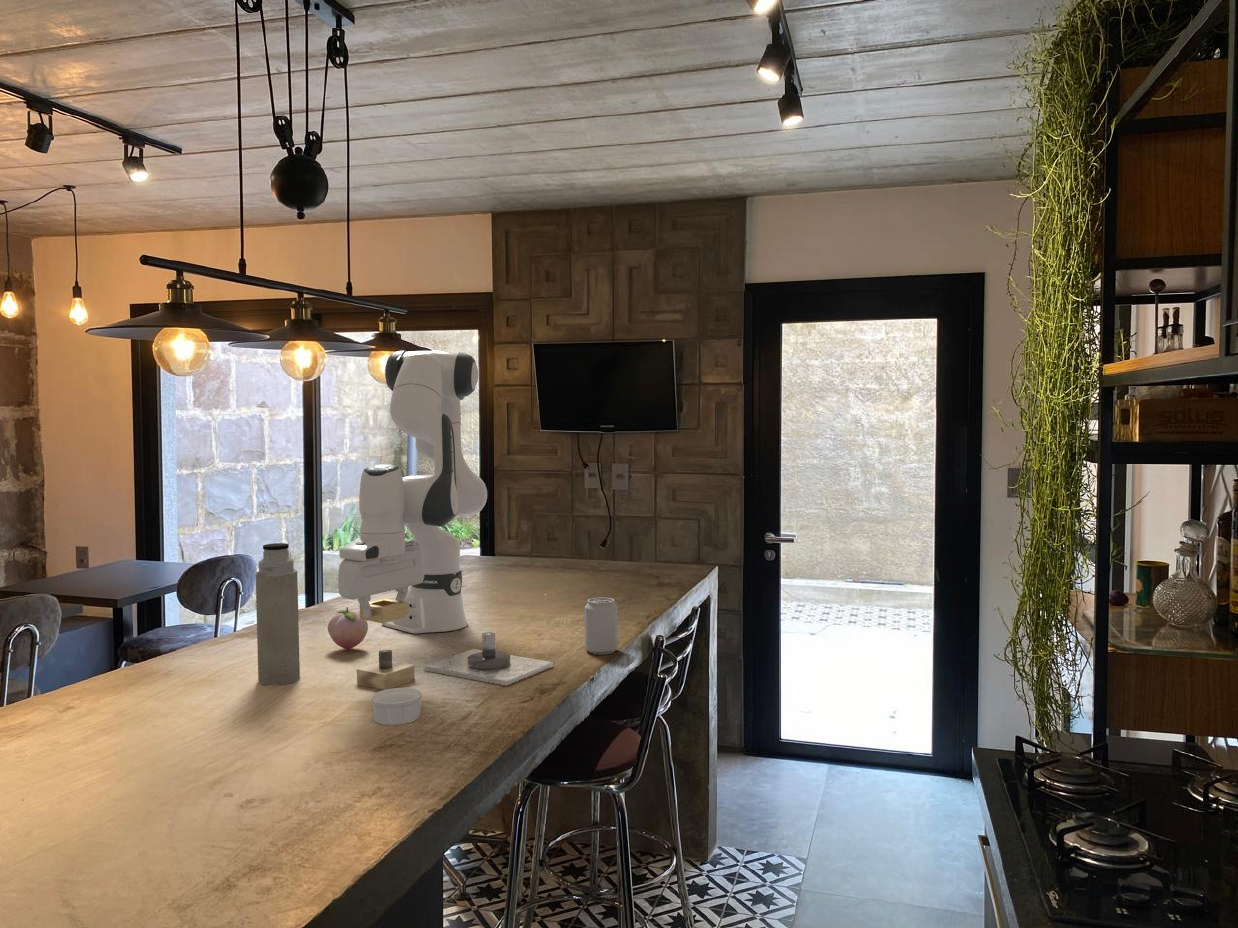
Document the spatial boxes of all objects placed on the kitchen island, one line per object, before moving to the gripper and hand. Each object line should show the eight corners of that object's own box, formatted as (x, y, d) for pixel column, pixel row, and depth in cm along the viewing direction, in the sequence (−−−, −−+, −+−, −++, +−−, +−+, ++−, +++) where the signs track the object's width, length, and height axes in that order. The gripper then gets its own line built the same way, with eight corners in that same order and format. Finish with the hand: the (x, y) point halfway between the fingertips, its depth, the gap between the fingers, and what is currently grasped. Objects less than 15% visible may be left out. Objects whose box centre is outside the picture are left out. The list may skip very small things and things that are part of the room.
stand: (356, 683, 181) (356, 652, 181) (386, 673, 188) (385, 644, 188) (385, 689, 177) (385, 658, 177) (414, 679, 184) (414, 649, 184)
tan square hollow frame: (359, 619, 181) (359, 604, 181) (384, 612, 187) (383, 598, 187) (383, 623, 178) (383, 608, 178) (407, 616, 183) (407, 602, 183)
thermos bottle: (276, 672, 189) (273, 540, 188) (308, 676, 187) (305, 542, 185) (249, 683, 182) (245, 545, 180) (282, 687, 179) (278, 547, 178)
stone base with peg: (424, 670, 191) (423, 635, 190) (473, 653, 204) (473, 620, 204) (506, 685, 179) (506, 648, 179) (553, 666, 193) (552, 632, 193)
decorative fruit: (376, 649, 208) (375, 607, 207) (343, 656, 202) (342, 612, 201) (354, 643, 214) (353, 601, 214) (322, 649, 208) (321, 606, 208)
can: (614, 656, 201) (613, 603, 200) (581, 654, 203) (581, 601, 202) (620, 647, 208) (620, 596, 208) (589, 646, 210) (588, 595, 209)
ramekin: (396, 730, 154) (395, 705, 154) (360, 721, 159) (359, 697, 159) (432, 715, 162) (432, 692, 162) (397, 707, 167) (397, 684, 166)
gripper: (408, 537, 192) (409, 601, 193) (332, 550, 174) (333, 621, 175) (430, 539, 188) (431, 605, 189) (355, 553, 171) (356, 625, 172)
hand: (383, 613), depth 182 cm, fingers closed on tan square hollow frame, 7 cm apart
